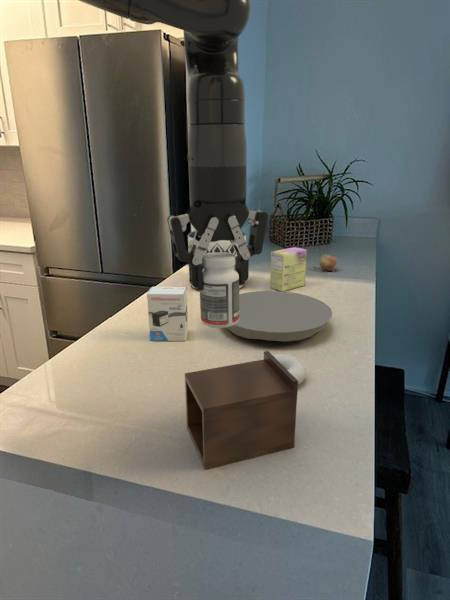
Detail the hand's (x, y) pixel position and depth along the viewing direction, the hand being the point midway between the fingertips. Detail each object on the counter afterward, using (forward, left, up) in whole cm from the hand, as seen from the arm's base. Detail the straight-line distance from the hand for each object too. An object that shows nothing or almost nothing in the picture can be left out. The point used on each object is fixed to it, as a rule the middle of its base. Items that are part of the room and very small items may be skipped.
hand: (219, 285), depth 61 cm
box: (+43, +61, -24) cm, 78 cm away
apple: (+65, +72, -24) cm, 100 cm away
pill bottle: (0, 0, -6) cm, 6 cm away
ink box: (0, +36, -24) cm, 43 cm away
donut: (+16, +10, -24) cm, 30 cm away
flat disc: (+26, +34, -24) cm, 49 cm away
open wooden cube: (+2, -4, -24) cm, 24 cm away
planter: (+23, +71, -24) cm, 78 cm away
